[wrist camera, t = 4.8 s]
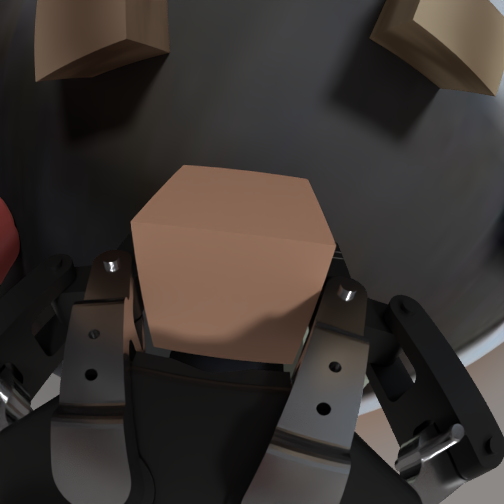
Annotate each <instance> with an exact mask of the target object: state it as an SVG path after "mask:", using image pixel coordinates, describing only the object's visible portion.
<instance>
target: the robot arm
mask: <svg viewBox="0 0 504 504" xmlns="http://www.w3.org/2000/svg"><path fill="white" fill-rule="evenodd" d="M335 244H336V248H335V251H334V254H333V257H332V260H331V263H330V266H329V269H328V272H327V275H326V278H325V281H324V284H323V287H322V290H321V293H320V295H319V298H318V301H317V304H316V306H315V309H314V312H313V314H312V317H311V320H310V322H309V325H308V328H309V332H308V335H307V337H306V340H305V343H304V345H303V348H302V351H301V353H300V356H299V359H298V362H297V364H296V367H295V369H294V372H293V375H292V377H291V379H290V372H282V371H266V370H254V369H250V370H242V371H232V372H222V373H208V372H204V371H202V370H199V369H197V368H194V367H192V366H189V365H187V364H184V363H182V362H179V361H177V360H175V359H172V358H168V357H162V356H157V355H152V354H148V353H146V350H145V334H144V317H143V310H144V308H145V307H144V303H143V298H142V292H141V287H140V282H139V276H138V270H137V264H136V258H135V251H134V244H133V236H132V231H131V232H130V234H129V235H128V236H127V237H126V238H125V240H124V241H123V242H122V244H121V245H120V246H119V248H118V249H117V250H110V251H106V252H104V253H102V254H100V255H98V256H97V257H96V258H95V259H94V261H93V263H92V266H81V267H74V265H73V262H72V259H71V257H70V256H68V255H65V254H58V255H54V256H51V257H49V258H47V259H46V260H44V261H43V262H42V263H41V264H39V265H38V266H37V267H36V268H35V269H33V270H32V271H31V272H30V273H29V274H27V275H26V276H25V277H24V278H23V279H22V280H21V281H19V282H18V283H17V284H16V285H15V286H14V287H13V288H12V289H10V290H9V291H8V292H7V293H6V294H5V295H4V296H3V297H2V298H1V299H0V504H439V503H440V502H441V501H443V500H444V499H445V498H446V497H448V496H449V495H450V494H452V493H453V492H454V491H455V490H456V489H458V488H459V487H460V486H461V485H462V484H463V483H465V482H468V481H470V480H472V479H474V478H476V477H478V476H480V475H482V474H484V473H486V472H488V471H490V470H492V469H494V468H496V467H497V466H498V465H499V464H500V463H501V462H502V459H503V457H504V437H503V435H502V432H501V430H500V428H499V426H498V424H497V422H496V420H495V418H494V417H493V415H492V413H491V411H490V409H489V407H488V406H487V404H486V402H485V400H484V398H483V397H482V395H481V393H480V391H479V390H478V388H477V386H476V385H475V383H474V382H473V380H472V378H471V377H470V375H469V373H468V372H467V370H466V369H465V367H464V365H463V364H462V362H461V361H460V359H459V358H458V356H457V355H456V353H455V352H454V350H453V349H452V347H451V346H450V344H449V343H448V342H447V340H446V339H445V337H444V336H443V335H442V333H441V332H440V330H439V329H438V328H437V326H436V325H435V323H434V322H433V321H432V319H431V318H430V317H429V315H428V314H427V313H426V312H425V310H424V309H423V308H422V306H421V305H420V304H419V303H418V302H417V301H415V300H414V299H412V298H410V297H408V296H404V295H397V296H394V297H393V298H392V299H391V300H390V302H389V304H384V303H381V302H378V301H375V300H372V299H370V298H368V297H367V291H366V289H365V288H364V286H363V285H362V284H360V283H359V282H358V281H356V280H354V279H352V278H351V277H350V274H349V271H348V269H347V266H346V264H345V261H344V259H343V256H342V253H341V251H340V248H339V246H338V244H337V243H336V242H335ZM50 303H51V305H52V307H53V309H54V311H55V313H56V314H55V315H54V316H53V317H52V318H51V319H50V320H49V321H48V322H47V323H46V324H45V325H44V327H43V328H42V329H41V330H40V331H39V332H38V333H37V334H36V335H35V336H34V335H33V334H32V330H31V327H32V323H33V321H34V320H35V318H36V317H37V316H38V315H39V314H40V313H41V312H42V311H43V310H44V309H45V308H46V307H47V306H48V305H49V304H50ZM403 351H404V352H405V354H406V355H407V357H408V359H409V360H410V362H411V364H412V365H413V367H414V369H415V371H416V380H415V383H414V382H413V381H412V379H411V377H410V375H409V374H408V372H407V370H406V368H405V367H404V365H403V363H402V361H401V360H400V358H399V356H400V354H401V353H402V352H403ZM62 360H63V364H62V373H61V383H60V394H59V395H58V396H56V397H55V398H53V399H51V400H50V401H48V402H47V403H45V404H43V405H42V406H40V407H39V408H37V409H35V410H34V411H33V409H32V408H31V407H30V405H31V400H32V399H33V397H34V396H35V395H36V393H37V392H38V391H39V389H40V388H41V387H42V385H43V384H44V383H45V381H46V380H47V379H48V378H49V376H50V375H51V374H52V373H53V371H54V370H55V369H56V368H57V366H58V365H59V364H60V363H61V361H62ZM365 374H366V376H367V378H368V380H369V382H370V384H371V386H372V388H373V390H374V392H375V394H376V397H377V399H378V401H379V403H380V405H381V407H382V409H383V411H384V413H385V415H386V417H387V420H388V422H389V424H390V426H391V428H392V431H393V433H394V435H395V437H396V439H397V441H398V444H399V446H400V450H399V453H398V459H397V460H396V461H395V468H396V470H397V471H399V472H400V475H399V474H398V473H397V472H396V471H395V470H393V468H391V467H390V466H389V465H388V464H387V463H386V462H385V461H384V460H383V459H382V458H381V457H380V456H379V455H378V454H377V453H376V452H375V451H374V450H373V449H372V448H371V447H370V446H368V444H367V443H366V442H365V441H364V440H363V439H362V438H361V437H359V435H358V434H357V433H356V432H355V431H354V430H355V427H356V422H357V418H358V413H359V408H360V403H361V398H362V392H363V386H364V380H365Z"/></svg>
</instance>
